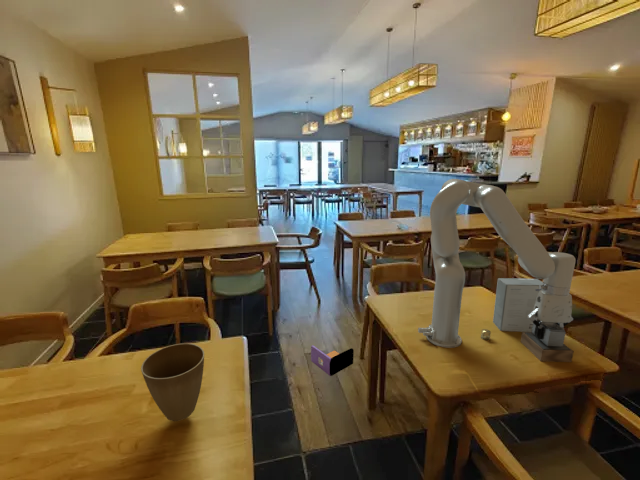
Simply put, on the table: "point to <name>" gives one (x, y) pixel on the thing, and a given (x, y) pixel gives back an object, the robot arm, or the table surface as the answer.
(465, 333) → the table surface
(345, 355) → the miniature room corner
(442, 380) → the table surface
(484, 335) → the brass bushing
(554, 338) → the housing
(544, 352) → the stand
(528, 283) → the hard drive box
